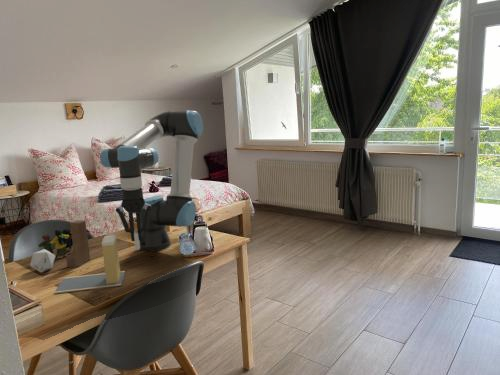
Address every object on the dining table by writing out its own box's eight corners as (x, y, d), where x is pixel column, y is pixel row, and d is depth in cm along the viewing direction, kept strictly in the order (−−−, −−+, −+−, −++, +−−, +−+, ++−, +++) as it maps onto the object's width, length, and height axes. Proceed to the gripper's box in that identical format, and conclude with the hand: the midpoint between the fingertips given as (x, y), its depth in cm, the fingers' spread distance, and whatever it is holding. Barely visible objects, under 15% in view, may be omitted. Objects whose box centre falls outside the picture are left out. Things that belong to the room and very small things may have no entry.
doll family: (80, 244, 193) (76, 217, 191) (94, 245, 190) (90, 219, 187) (39, 261, 173) (34, 232, 170) (53, 263, 169) (49, 234, 166)
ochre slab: (120, 273, 155) (116, 234, 151) (118, 282, 147) (113, 241, 144) (109, 275, 154) (105, 235, 151) (106, 284, 146) (101, 242, 143)
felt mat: (125, 272, 157) (124, 270, 157) (121, 286, 145) (121, 284, 145) (63, 279, 153) (63, 277, 153) (54, 294, 140) (54, 292, 140)
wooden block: (75, 268, 163) (69, 226, 160) (67, 266, 165) (61, 225, 161) (90, 259, 172) (85, 220, 168) (82, 259, 173) (77, 219, 170)
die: (27, 276, 159) (35, 259, 155) (28, 259, 165) (35, 243, 161) (50, 277, 164) (58, 261, 160) (49, 261, 170) (57, 245, 166)
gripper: (150, 184, 150) (155, 243, 155) (114, 187, 148) (121, 247, 152) (149, 188, 143) (155, 250, 148) (111, 191, 140) (118, 254, 145)
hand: (137, 248), depth 150 cm, fingers closed
